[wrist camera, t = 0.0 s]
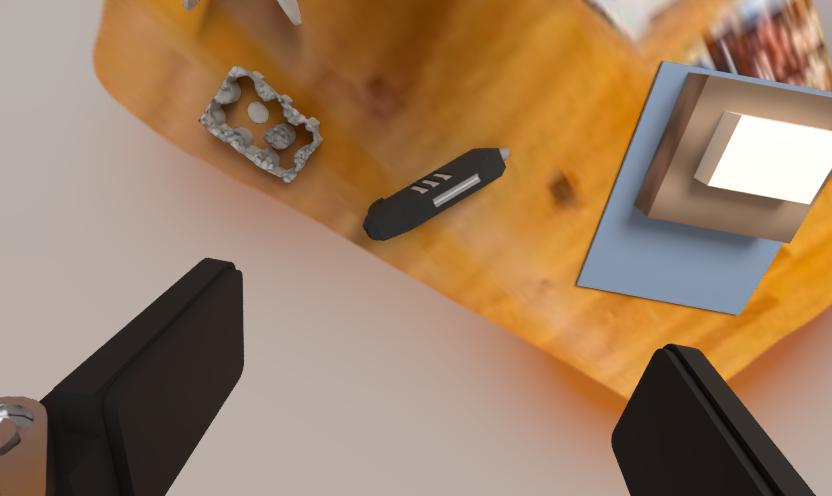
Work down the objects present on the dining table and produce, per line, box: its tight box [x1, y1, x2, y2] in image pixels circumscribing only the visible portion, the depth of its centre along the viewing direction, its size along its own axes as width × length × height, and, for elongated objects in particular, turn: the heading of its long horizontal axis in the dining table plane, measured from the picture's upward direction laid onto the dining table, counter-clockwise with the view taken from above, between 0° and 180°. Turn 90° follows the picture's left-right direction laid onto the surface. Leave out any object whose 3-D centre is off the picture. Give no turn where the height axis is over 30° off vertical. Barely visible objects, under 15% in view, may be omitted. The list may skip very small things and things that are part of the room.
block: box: [633, 72, 832, 244], centre depth 40 cm, size 13×14×4 cm
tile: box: [694, 111, 832, 204], centre depth 37 cm, size 6×9×2 cm, turn 81°
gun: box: [363, 147, 510, 241], centre depth 44 cm, size 3×16×10 cm, turn 115°
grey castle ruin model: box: [198, 65, 323, 184], centre depth 43 cm, size 11×8×4 cm
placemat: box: [576, 61, 832, 315], centre depth 44 cm, size 24×19×1 cm
